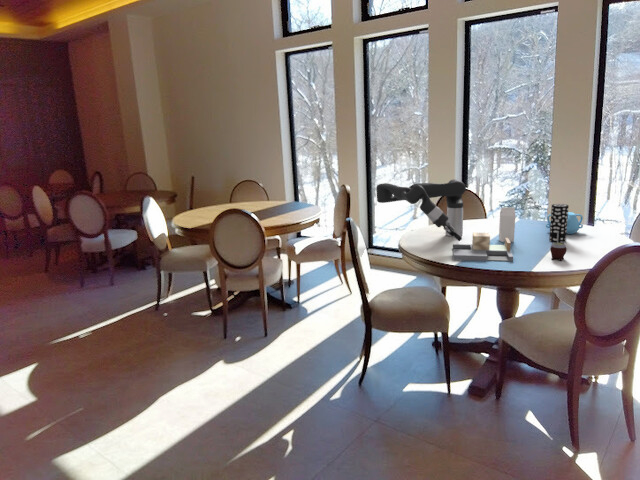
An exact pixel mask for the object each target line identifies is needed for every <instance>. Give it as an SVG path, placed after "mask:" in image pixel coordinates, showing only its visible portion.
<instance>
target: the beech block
mask: <svg viewBox="0 0 640 480" xmlns="http://www.w3.org/2000/svg"><path fill="white" fill-rule="evenodd" d="M471 241H472V246H473V249H480V250H489V249H490V245H491V244H490V243H491V235H490V233H489V232H472V240H471Z"/></svg>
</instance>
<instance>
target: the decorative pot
mask: <svg viewBox="0 0 640 480" xmlns="http://www.w3.org/2000/svg"><path fill="white" fill-rule="evenodd" d="M577 216H578V217H580V220H579V219H578V217H577ZM550 218H551V213H550V214H548V215H547V218H546V220H547V223H546V224H545V227H546V228H547V229H550V222H551V220H550ZM583 219H584V217H583V215H582V214H580V213H575V212H572V211H568V219H567V232H566V234H568V235H574V234H575V233H578V232H579V230H581V229H583V227H584V225H583V224H582V222H583Z"/></svg>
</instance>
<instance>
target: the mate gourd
mask: <svg viewBox="0 0 640 480" xmlns="http://www.w3.org/2000/svg"><path fill="white" fill-rule="evenodd" d="M558 237H559V234H558V232H557V242H552V244H551V245H550V250H549V251H550V254H551V261H556V260H557V261H560V262H562V261H563V260H564V259H565V258H564V257H565V255H566V253H567V250H568V248H567V245H566V243H565V242H562V243H561V242H558Z"/></svg>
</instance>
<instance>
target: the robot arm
mask: <svg viewBox="0 0 640 480" xmlns="http://www.w3.org/2000/svg"><path fill="white" fill-rule="evenodd" d="M466 186H467V185H466V184H465V183H464V182H463V181H461V180H458V179H456V178H455V179H450V180H449V181H448V182H446V183H434V182H420V183H419V182H418V183H413V184H412V185H410V186H409V187H407V186H399V185H395V184H392V183H387V182H386V183H385V182H384V183H379V184H377V185H376V190H375V191H376V201H377V203H380V204H384V203H386V204H387V203H391V202H392V203H393V202H399V201H400V202H401V201H406V202H407V203H409V204H411V205H415V204H417V203H418V202H419V201H420V200H421V201H422V202H421V204H420V206H419V209H420V210H421V211H422V212H423V213H424V214H425V215H426V216H427V218H428V219H429V220H430V221H431V222H432V223H433V224H434V225H435V226H436V227H437V228H441V227H443V230H444V231H445V233H444V234H445V236H448V237H453V238H455V239H456V240H457V241H458V242H460V241H462V240H463V238H462V237H463V229H464V224H463V223H464V201H463V195H464V193H465V192H466V190H467V187H466ZM438 197H445V198H446V209H447V210H446V213H445V212H444V211H443V210H442V209H441V208H440V207H438V206H437V205H436V204H435V203H434V202H433V201H432V200H431V199H432V198H438Z"/></svg>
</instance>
